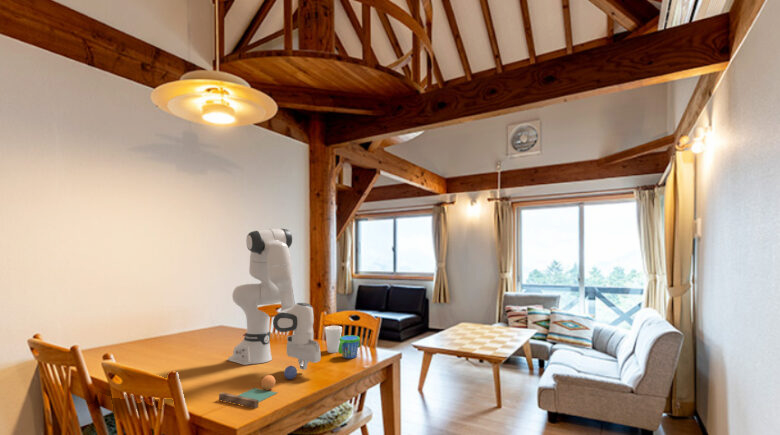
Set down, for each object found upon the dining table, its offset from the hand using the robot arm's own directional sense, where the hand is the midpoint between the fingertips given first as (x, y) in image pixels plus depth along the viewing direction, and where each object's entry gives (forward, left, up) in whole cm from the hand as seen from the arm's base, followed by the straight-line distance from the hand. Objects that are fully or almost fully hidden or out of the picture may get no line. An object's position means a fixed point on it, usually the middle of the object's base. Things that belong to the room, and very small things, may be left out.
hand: (303, 369), depth 180 cm
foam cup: (-8, +38, -2) cm, 39 cm away
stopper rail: (0, -39, -2) cm, 39 cm away
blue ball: (0, -9, +1) cm, 9 cm away
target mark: (0, -30, -2) cm, 31 cm away
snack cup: (+6, +32, -2) cm, 33 cm away
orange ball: (0, -23, +1) cm, 23 cm away
